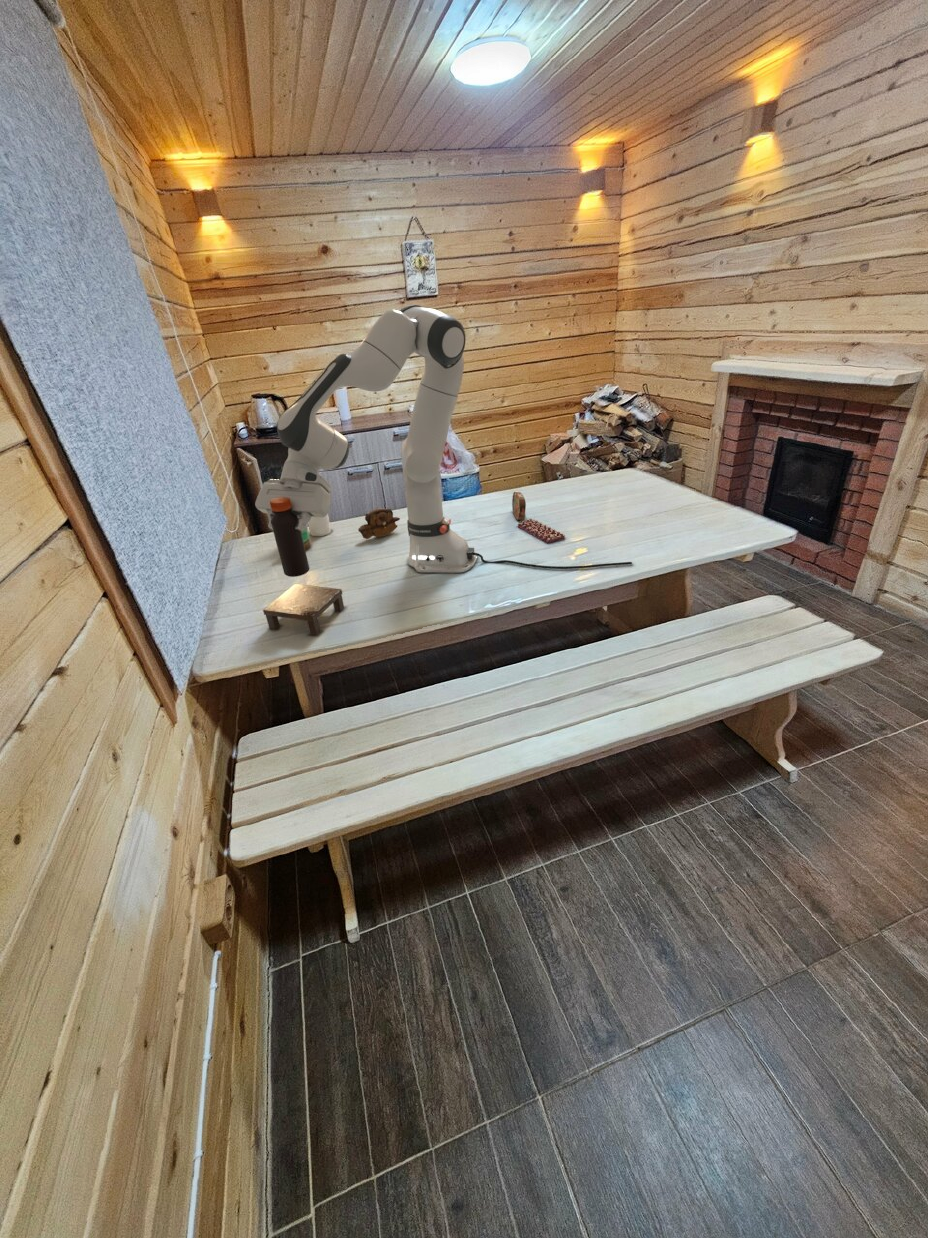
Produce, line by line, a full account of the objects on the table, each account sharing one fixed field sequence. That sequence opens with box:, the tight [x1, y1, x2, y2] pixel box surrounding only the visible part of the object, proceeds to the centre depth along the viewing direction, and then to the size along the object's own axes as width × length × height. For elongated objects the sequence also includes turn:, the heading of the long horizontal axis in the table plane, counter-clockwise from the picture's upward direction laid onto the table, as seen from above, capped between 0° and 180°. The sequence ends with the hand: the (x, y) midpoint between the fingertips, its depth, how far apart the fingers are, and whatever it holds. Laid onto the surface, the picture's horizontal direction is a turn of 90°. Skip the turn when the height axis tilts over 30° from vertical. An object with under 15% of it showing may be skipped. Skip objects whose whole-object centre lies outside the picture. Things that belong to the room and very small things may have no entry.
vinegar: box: [270, 497, 311, 578], centre depth 135 cm, size 7×7×20 cm
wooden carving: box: [357, 508, 401, 540], centre depth 188 cm, size 16×5×10 cm, turn 131°
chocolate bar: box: [517, 518, 566, 544], centre depth 186 cm, size 7×19×2 cm, turn 28°
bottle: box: [308, 513, 332, 537], centre depth 189 cm, size 8×8×30 cm
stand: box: [262, 583, 345, 636], centre depth 141 cm, size 15×15×6 cm
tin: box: [511, 491, 527, 520], centre depth 199 cm, size 15×3×8 cm, turn 5°
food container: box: [296, 515, 311, 552], centre depth 182 cm, size 12×6×10 cm, turn 168°
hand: (285, 529), depth 134 cm, fingers closed on vinegar, 6 cm apart
